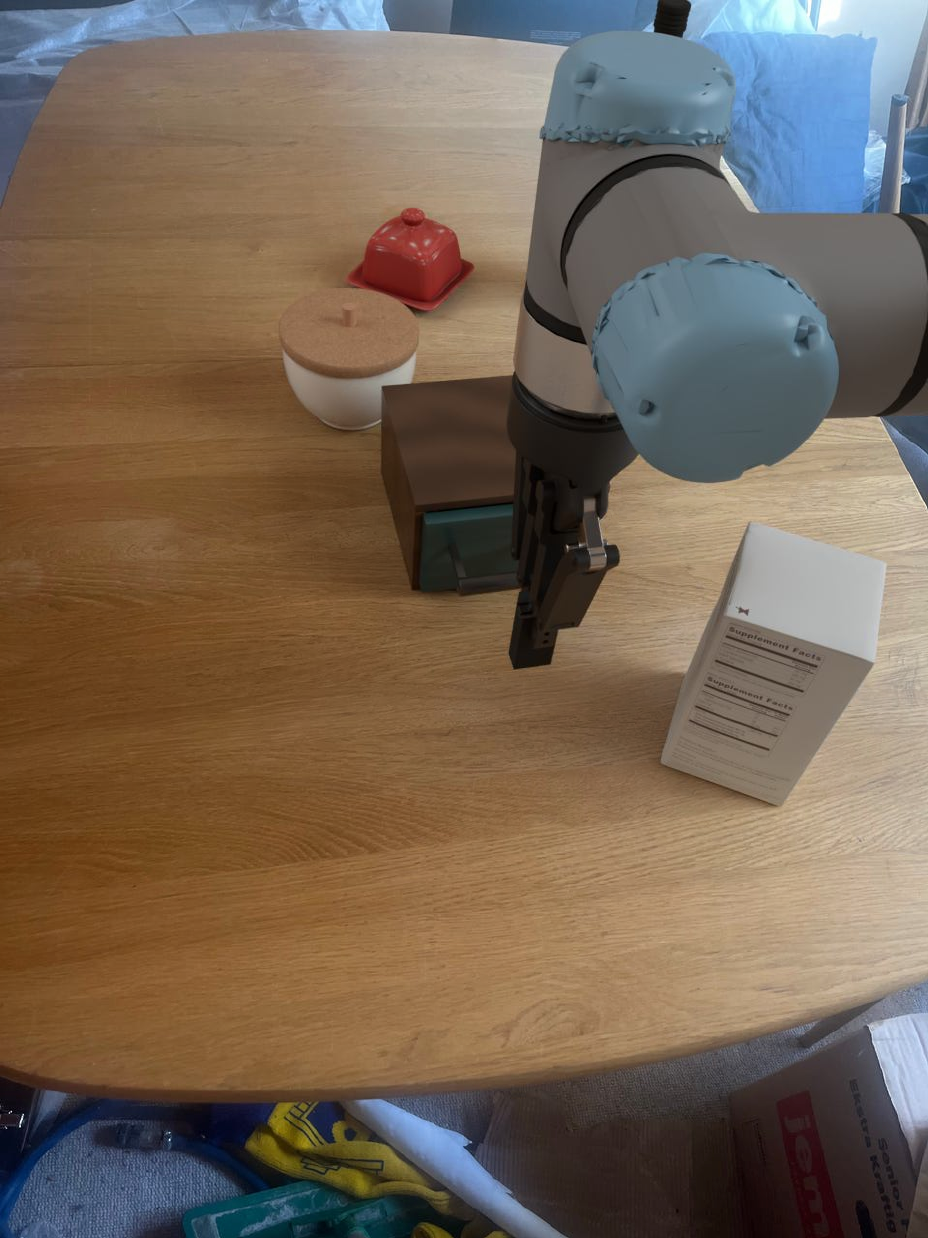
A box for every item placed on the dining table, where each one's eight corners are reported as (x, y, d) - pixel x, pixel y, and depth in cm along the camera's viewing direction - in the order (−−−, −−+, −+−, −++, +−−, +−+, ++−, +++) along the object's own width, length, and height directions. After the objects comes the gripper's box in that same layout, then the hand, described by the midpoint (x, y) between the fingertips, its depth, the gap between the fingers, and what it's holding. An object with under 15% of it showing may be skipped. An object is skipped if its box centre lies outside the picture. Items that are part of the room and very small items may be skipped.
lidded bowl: (426, 443, 91) (432, 343, 82) (292, 454, 88) (283, 352, 80) (404, 363, 98) (407, 264, 90) (280, 371, 96) (271, 270, 88)
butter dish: (339, 290, 106) (337, 216, 100) (392, 245, 113) (394, 173, 106) (430, 323, 103) (434, 249, 97) (479, 275, 110) (486, 203, 104)
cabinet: (546, 573, 81) (563, 489, 74) (411, 590, 79) (415, 505, 71) (502, 459, 90) (514, 374, 83) (380, 472, 88) (381, 385, 80)
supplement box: (782, 811, 68) (878, 669, 55) (657, 766, 70) (721, 618, 57) (801, 708, 74) (892, 558, 61) (685, 669, 76) (749, 515, 63)
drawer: (561, 622, 77) (577, 555, 71) (434, 640, 74) (439, 572, 68) (503, 469, 88) (513, 400, 82) (391, 480, 86) (393, 410, 80)
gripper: (699, 452, 46) (609, 726, 64) (612, 304, 54) (553, 585, 72) (551, 467, 45) (501, 744, 63) (484, 312, 53) (456, 597, 71)
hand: (529, 658), depth 68 cm, fingers closed
